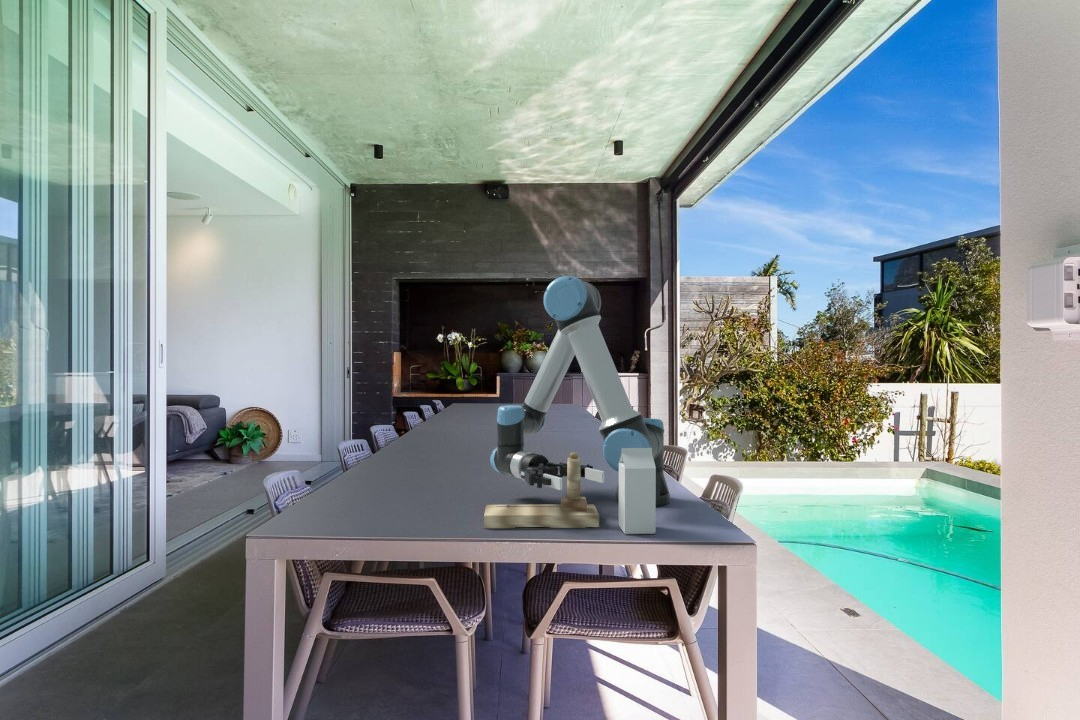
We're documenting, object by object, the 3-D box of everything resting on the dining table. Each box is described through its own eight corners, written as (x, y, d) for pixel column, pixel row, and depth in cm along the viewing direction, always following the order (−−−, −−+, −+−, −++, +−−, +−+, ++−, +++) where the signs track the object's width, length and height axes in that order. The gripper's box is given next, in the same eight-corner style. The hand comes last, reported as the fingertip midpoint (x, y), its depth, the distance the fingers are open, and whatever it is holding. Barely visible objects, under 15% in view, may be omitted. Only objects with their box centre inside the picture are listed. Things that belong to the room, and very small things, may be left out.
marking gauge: (585, 507, 146) (585, 451, 145) (586, 511, 142) (587, 454, 141) (560, 507, 146) (561, 451, 145) (561, 511, 142) (562, 454, 141)
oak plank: (593, 516, 149) (593, 503, 149) (598, 527, 139) (599, 514, 139) (486, 516, 148) (486, 504, 148) (483, 528, 138) (483, 515, 138)
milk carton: (655, 534, 134) (656, 450, 134) (624, 534, 133) (624, 450, 133) (647, 525, 141) (648, 445, 141) (618, 525, 140) (618, 446, 140)
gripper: (566, 475, 165) (620, 489, 148) (491, 487, 151) (541, 504, 134) (566, 448, 165) (620, 459, 148) (491, 457, 151) (541, 470, 133)
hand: (583, 480), depth 141 cm, fingers open, 13 cm apart
